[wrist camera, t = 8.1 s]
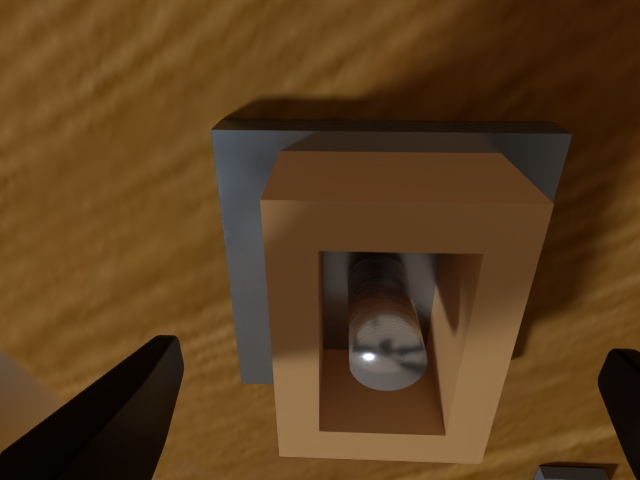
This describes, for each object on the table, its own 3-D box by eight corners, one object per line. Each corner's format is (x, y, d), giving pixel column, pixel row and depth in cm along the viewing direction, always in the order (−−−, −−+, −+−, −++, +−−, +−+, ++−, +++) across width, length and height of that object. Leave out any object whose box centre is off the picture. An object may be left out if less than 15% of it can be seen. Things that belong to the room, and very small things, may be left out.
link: (455, 377, 13) (480, 463, 11) (291, 372, 13) (279, 456, 11) (501, 153, 10) (554, 204, 7) (279, 151, 10) (259, 200, 8)
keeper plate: (489, 367, 14) (538, 487, 11) (247, 360, 15) (218, 474, 11) (553, 122, 10) (660, 185, 7) (221, 119, 11) (163, 177, 7)
